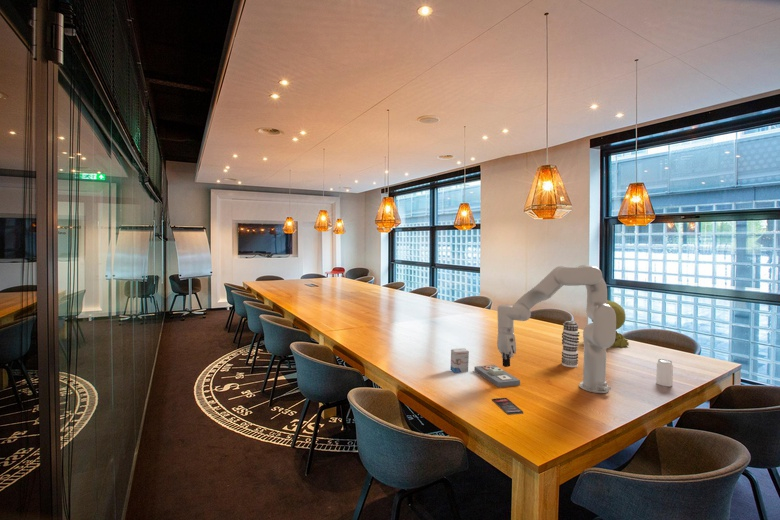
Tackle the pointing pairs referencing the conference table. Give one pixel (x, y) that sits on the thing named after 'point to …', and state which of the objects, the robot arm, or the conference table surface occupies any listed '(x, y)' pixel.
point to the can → (664, 373)
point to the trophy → (618, 324)
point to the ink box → (459, 360)
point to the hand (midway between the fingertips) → (506, 366)
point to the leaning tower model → (570, 344)
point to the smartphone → (507, 406)
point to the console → (494, 379)
